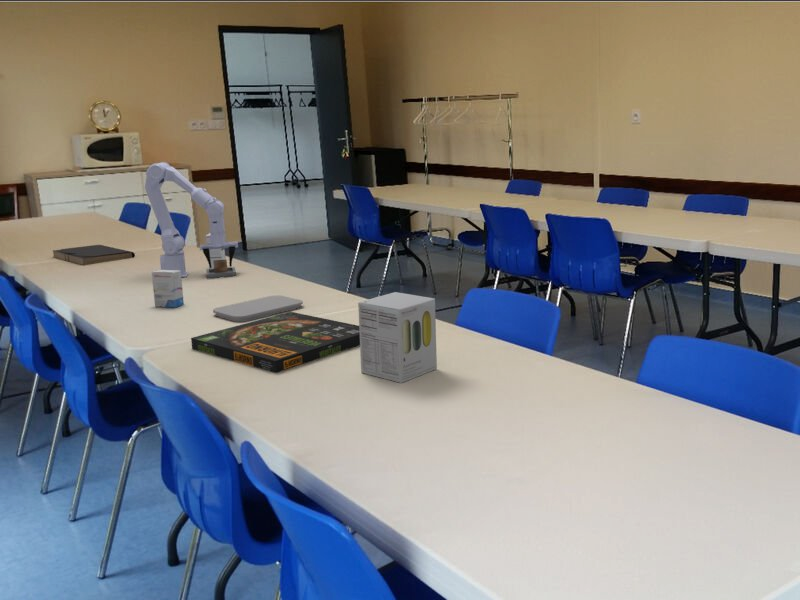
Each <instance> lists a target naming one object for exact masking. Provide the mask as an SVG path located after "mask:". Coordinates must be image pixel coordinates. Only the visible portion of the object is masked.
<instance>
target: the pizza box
mask: <svg viewBox="0 0 800 600" xmlns="http://www.w3.org/2000/svg"><path fill="white" fill-rule="evenodd" d="M190 340H191V341H190V342H191V349H192V350H194V351H199V352H201V353H202V352H203V353H206V354H209V355H212V356H215V357H216V356H217V357H219V358H223V359H227V360H230V361H234V362H237V363H241V364H244V365H247V366H251V367H254V368H258V369H261V370H265V371H268V372H272V373H275V374H277V373H281V372H284V371H286V370H289V369H293V368H296V367H299V366H301V365H305V364H307V363H310V362H313V361H317V360H319V359H322V358H326V357H328V356H332V355H335V354H337V353H340V352H344V351H346V350H349V349H353V348H356V347H358V346H359V347H360V332H359V324H358V325H356V324H352V323H347V322H342V321H338V320H334V319H328V318H324V317H323V318H322V317H320V316H319V317H318V316H314V315H313V316H312V315H309V314H303V313H299V312H293V311H286V312H282V313H279V314H275V315H271V316H267V317H266V318H262V319H261V318H260V319H258V320H254V321H253V320H252V321H250V322H246V323H243V324H239V325H235V326H231V327H227V328H225V329H220V330H216V331H212V332H209V333H204V334H200V335H198V336H192V337H191V338H190Z"/></svg>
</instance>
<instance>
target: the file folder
mask: <svg viewBox="0 0 800 600" xmlns="http://www.w3.org/2000/svg"><path fill="white" fill-rule="evenodd" d="M52 254H53V258H55V259H59V260H62V261H65V262H66V261H67V262H69V263H75V264H78V265H81V266H87V265H89V266H90V265H95V264H100V263H101V264H103V263H109V262H113V261H114V262H115V261H120V260H126V259H133V258H135V256H136V255H135V252H134V251H130V250H125V249H120V248H117V247H112V246H107V245H104V244H93V245H85V246H77V247H76V246H75V247H68V248H61V249H54V250H52Z"/></svg>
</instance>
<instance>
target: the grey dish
mask: <svg viewBox="0 0 800 600" xmlns="http://www.w3.org/2000/svg"><path fill="white" fill-rule="evenodd" d="M227 270H228V272H222V273H214V269H209V268H206V279H207V278H211V279H220V278H219V277H224V278H234V277H233V276H236V277H237V272H236V267H235V266H232V267H230V266H227Z"/></svg>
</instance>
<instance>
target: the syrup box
mask: <svg viewBox="0 0 800 600" xmlns="http://www.w3.org/2000/svg"><path fill="white" fill-rule="evenodd" d="M205 237H206V238H205V240H206V244H210V243H211V238H210V232H209V233H208V234H206V235H205ZM222 247H224V246H222ZM225 251H226V248H220V249H209V252H210V261H211V268H210V267H209V266H208V267H209V268H208V269H214V262H213V260H227V259H226V252H225Z"/></svg>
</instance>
